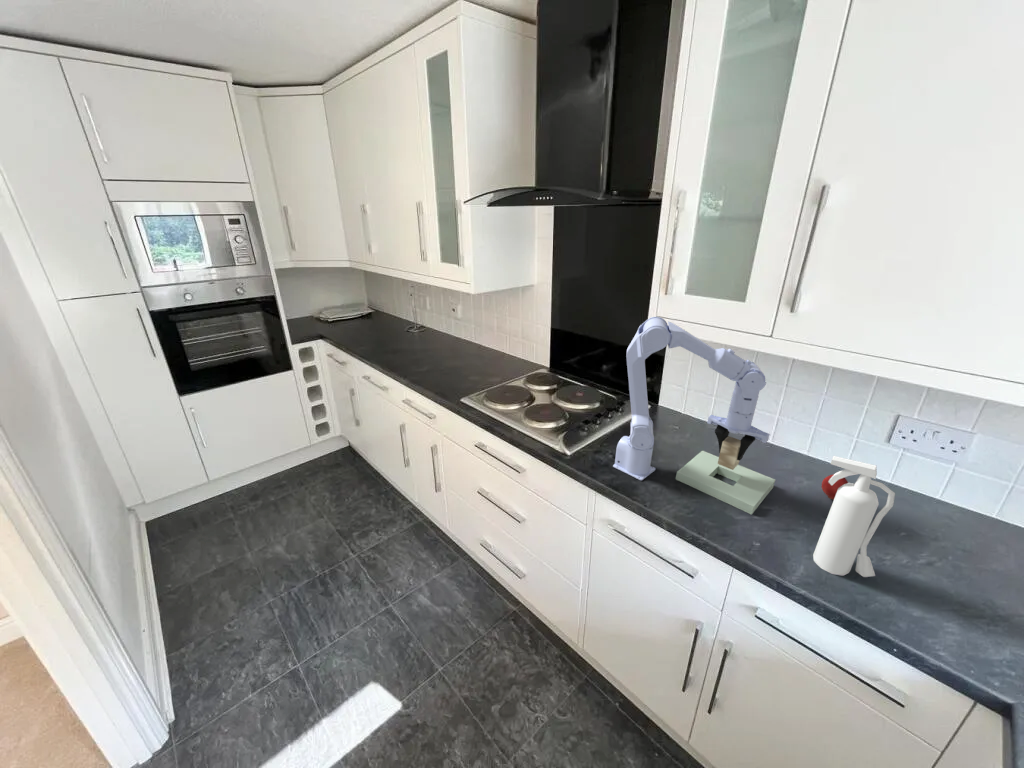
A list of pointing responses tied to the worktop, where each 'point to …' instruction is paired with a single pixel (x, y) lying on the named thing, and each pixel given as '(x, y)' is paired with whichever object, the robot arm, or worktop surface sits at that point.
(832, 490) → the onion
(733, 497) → the well board
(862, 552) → the fire extinguisher
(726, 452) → the beech block
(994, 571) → the worktop surface
